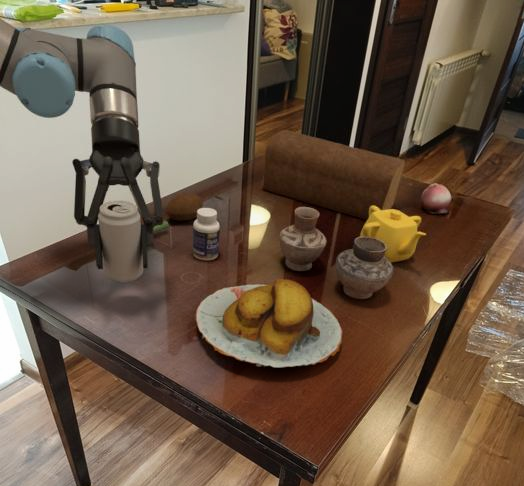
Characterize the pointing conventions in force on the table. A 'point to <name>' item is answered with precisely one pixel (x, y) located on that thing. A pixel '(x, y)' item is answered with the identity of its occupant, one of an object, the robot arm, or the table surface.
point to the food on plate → (269, 325)
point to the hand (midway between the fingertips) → (122, 266)
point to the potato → (184, 207)
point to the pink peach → (435, 199)
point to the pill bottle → (206, 234)
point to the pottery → (347, 262)
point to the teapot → (393, 232)
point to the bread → (330, 174)
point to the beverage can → (121, 240)
